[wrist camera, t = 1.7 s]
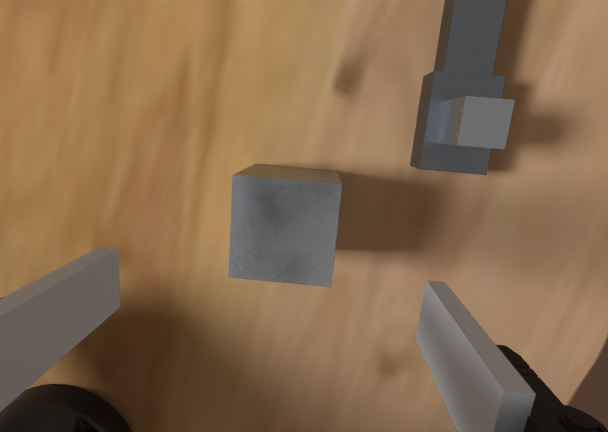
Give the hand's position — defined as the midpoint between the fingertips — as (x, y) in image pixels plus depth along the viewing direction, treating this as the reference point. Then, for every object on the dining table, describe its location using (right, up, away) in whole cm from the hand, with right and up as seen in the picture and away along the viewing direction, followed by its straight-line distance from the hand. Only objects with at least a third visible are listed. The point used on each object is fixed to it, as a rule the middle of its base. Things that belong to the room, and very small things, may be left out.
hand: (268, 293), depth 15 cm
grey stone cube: (+1, +4, +16) cm, 17 cm away
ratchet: (+14, +19, +12) cm, 26 cm away
